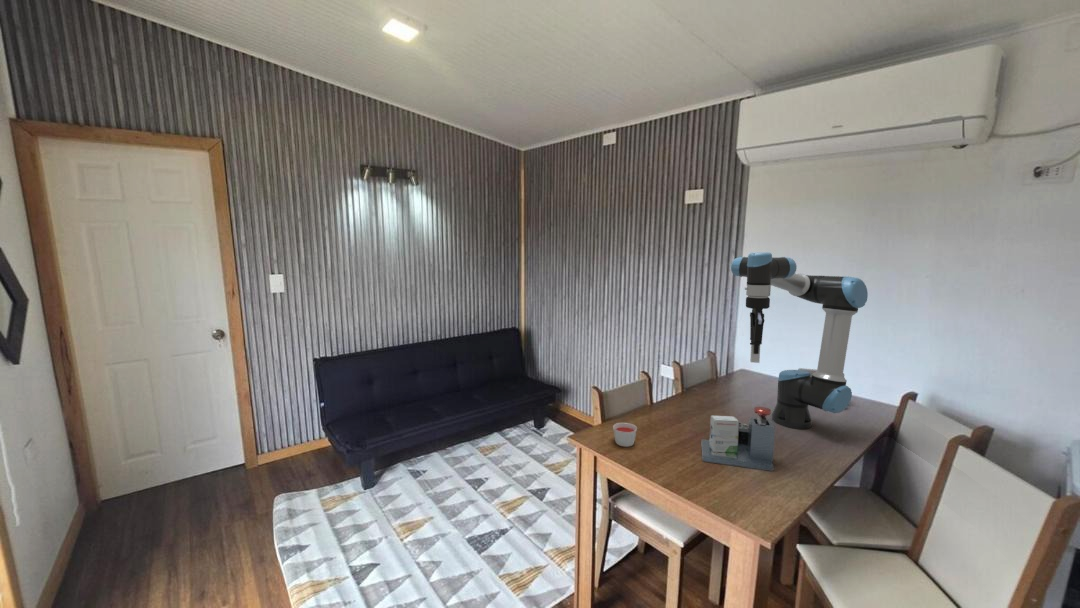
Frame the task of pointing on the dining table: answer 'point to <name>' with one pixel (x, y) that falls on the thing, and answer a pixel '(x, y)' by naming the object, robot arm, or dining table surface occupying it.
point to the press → (747, 448)
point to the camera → (743, 434)
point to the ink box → (724, 434)
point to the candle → (624, 434)
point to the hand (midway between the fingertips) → (754, 361)
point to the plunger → (762, 414)
